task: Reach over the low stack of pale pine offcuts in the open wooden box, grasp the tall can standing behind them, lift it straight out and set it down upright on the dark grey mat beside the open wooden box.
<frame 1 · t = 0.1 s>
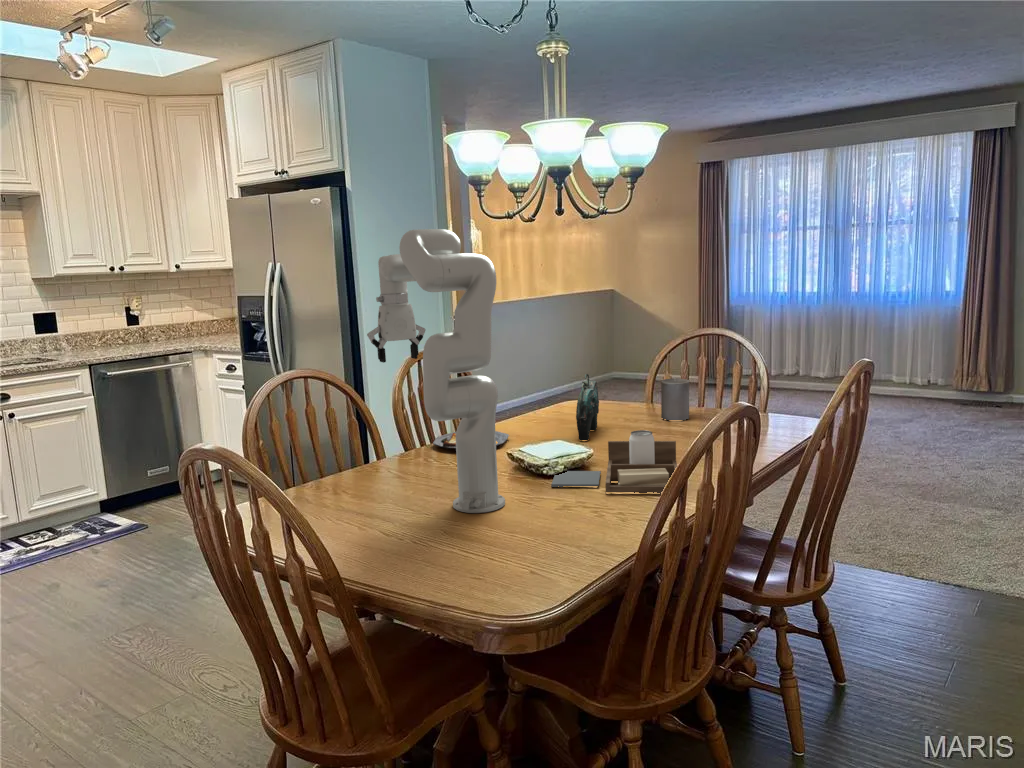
hand: (398, 360, 215), 31 cm above the table, tool pointing down, fingers open, 9 cm apart
pillar candle: (675, 419, 266), on the table
offcut lower: (642, 490, 189), on the table, touching offcut upper
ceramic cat: (589, 435, 248), on the table
offcut upper: (642, 481, 189), point 2 cm above the table, touching offcut lower
food plate: (471, 445, 243), on the table
open wooden box: (642, 481, 195), on the table
can: (642, 477, 199), on the table
mat: (576, 481, 198), on the table
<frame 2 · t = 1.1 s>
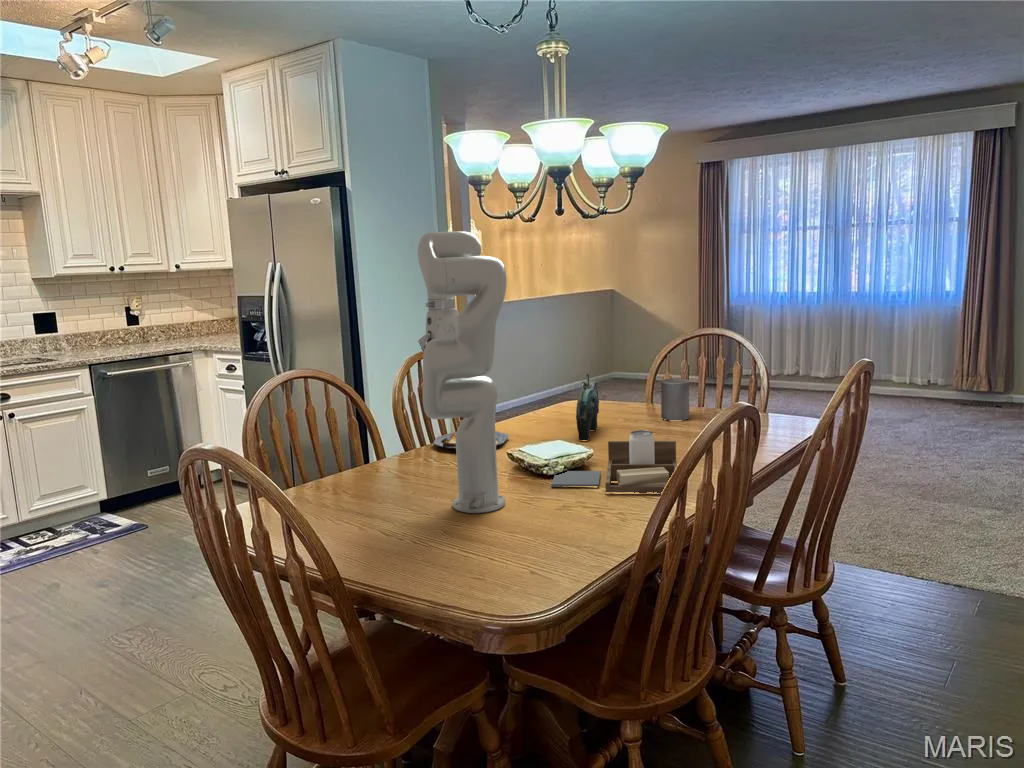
hand: (445, 366, 211), 29 cm above the table, tool pointing down, fingers open, 9 cm apart
nothing on the table moved.
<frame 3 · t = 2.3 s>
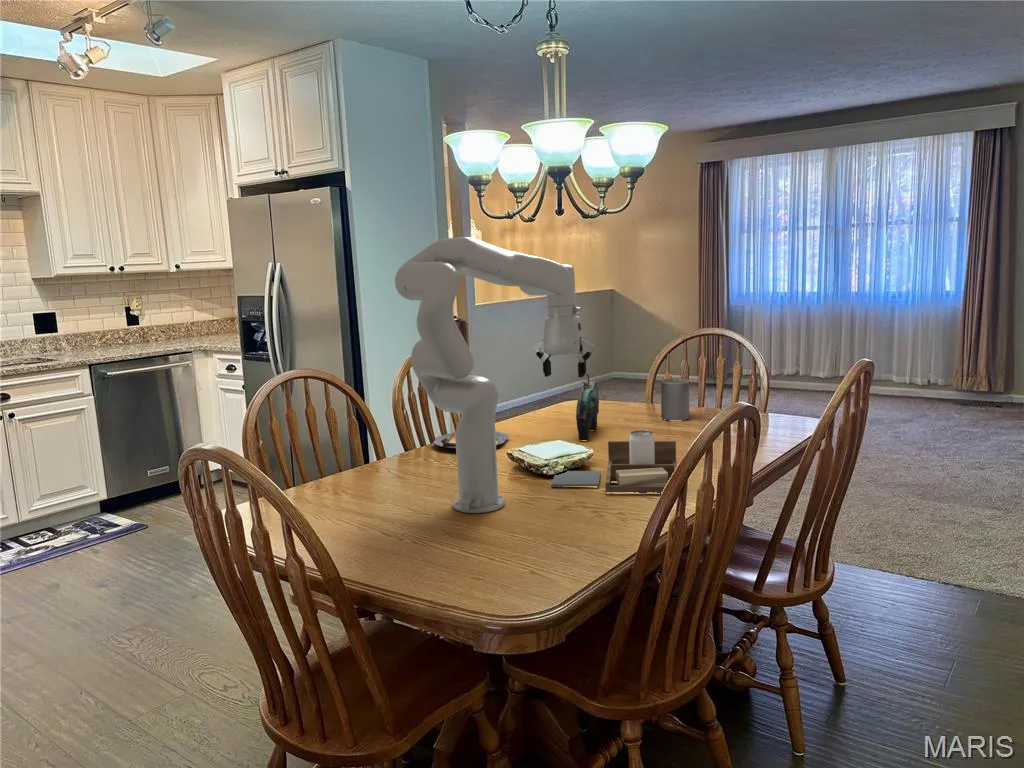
hand: (564, 376, 201), 27 cm above the table, tool pointing down, fingers open, 9 cm apart
nothing on the table moved.
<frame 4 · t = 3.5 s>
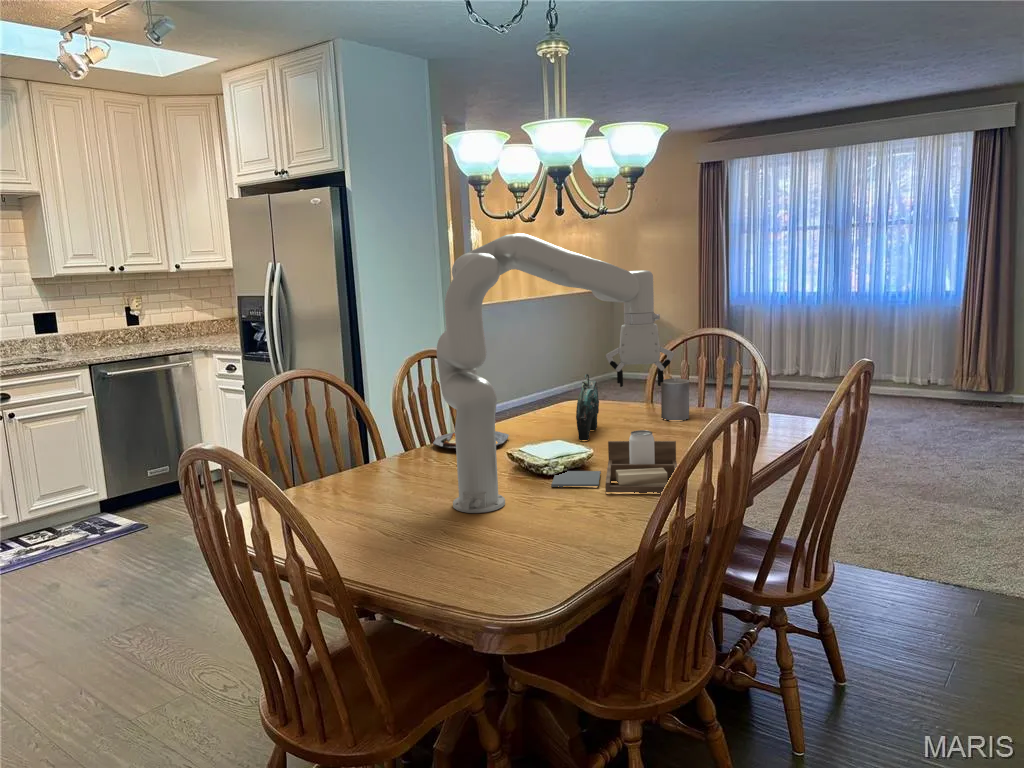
hand: (640, 385, 195), 24 cm above the table, tool pointing down, fingers open, 9 cm apart
nothing on the table moved.
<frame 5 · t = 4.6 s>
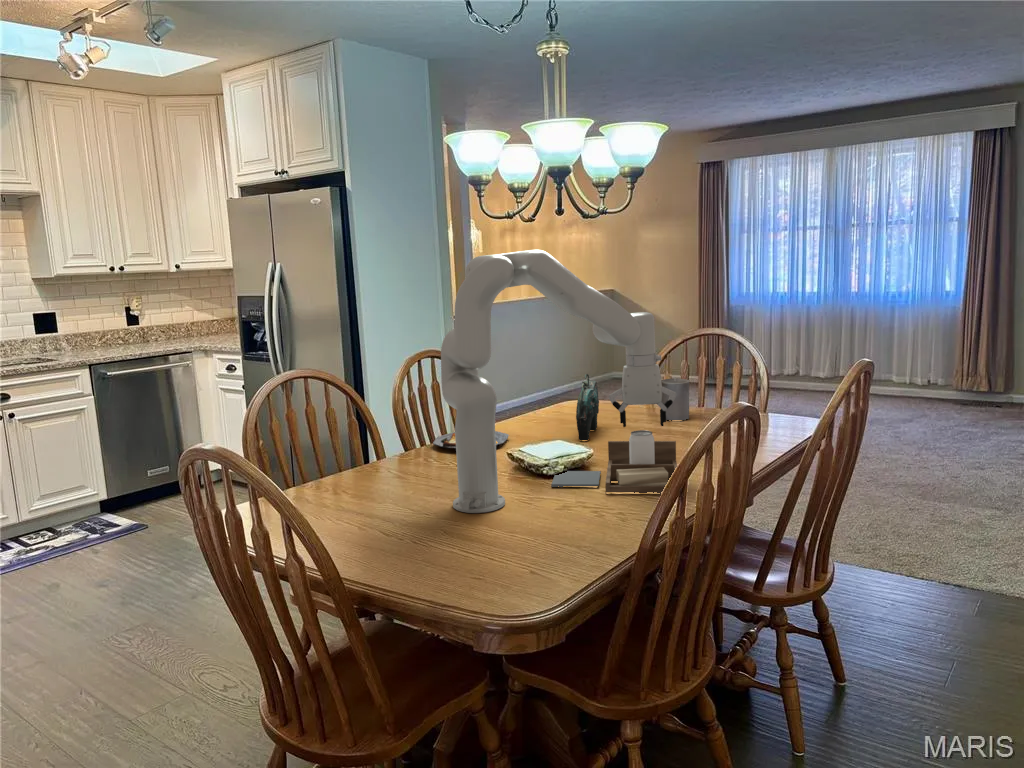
hand: (643, 425, 197), 14 cm above the table, tool pointing down, fingers open, 9 cm apart
offcut lower: (642, 490, 190), on the table
offcut upper: (642, 480, 189), point 2 cm above the table
everything else where it was.
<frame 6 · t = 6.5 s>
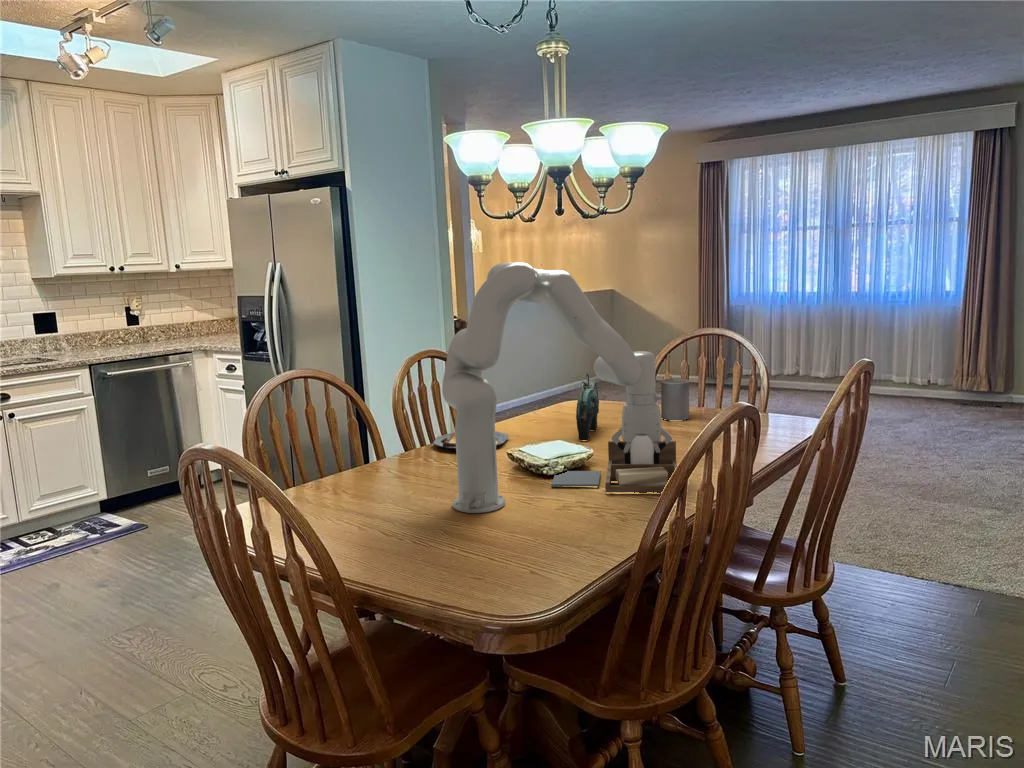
hand: (642, 465, 198), 3 cm above the table, tool pointing down, fingers closed on can, 6 cm apart
offcut lower: (642, 489, 190), on the table, touching offcut upper
offcut upper: (641, 480, 189), point 2 cm above the table, touching offcut lower
can: (642, 477, 199), on the table, touching gripper
everything else where it was.
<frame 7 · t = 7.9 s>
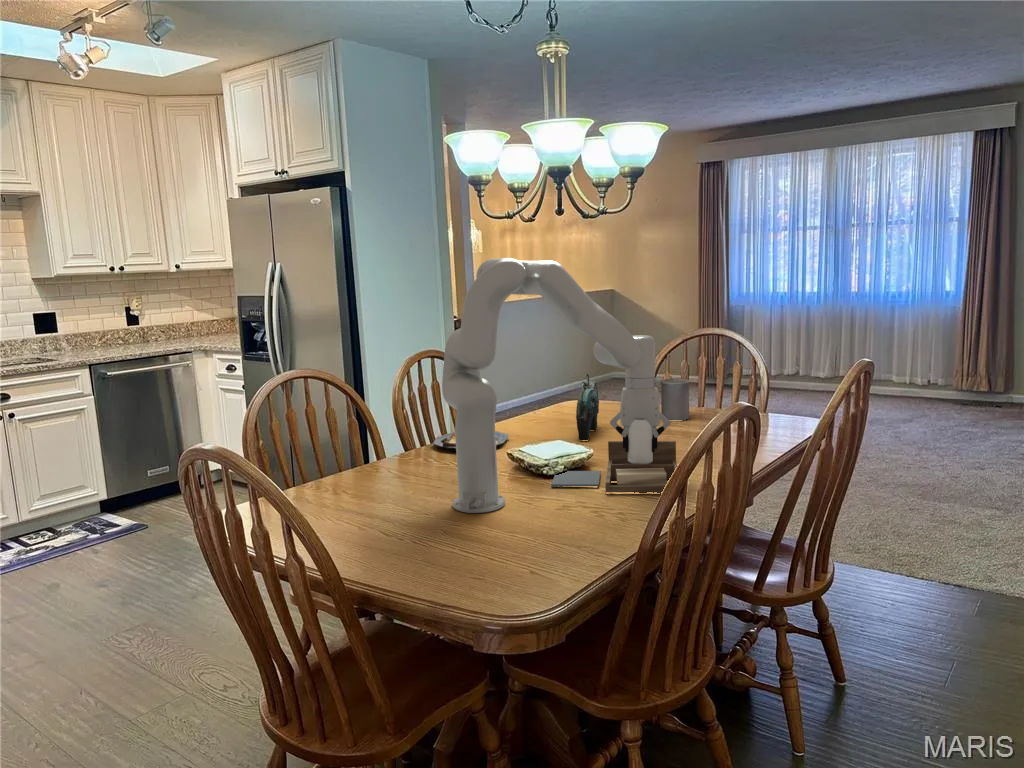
hand: (639, 450, 197), 7 cm above the table, tool pointing down, fingers closed on can, 6 cm apart
can: (640, 462, 198), point 4 cm above the table, touching gripper
when the fingers open (5 cm above the table, at t = 14.8 s): can drops 1 cm, resting on mat.
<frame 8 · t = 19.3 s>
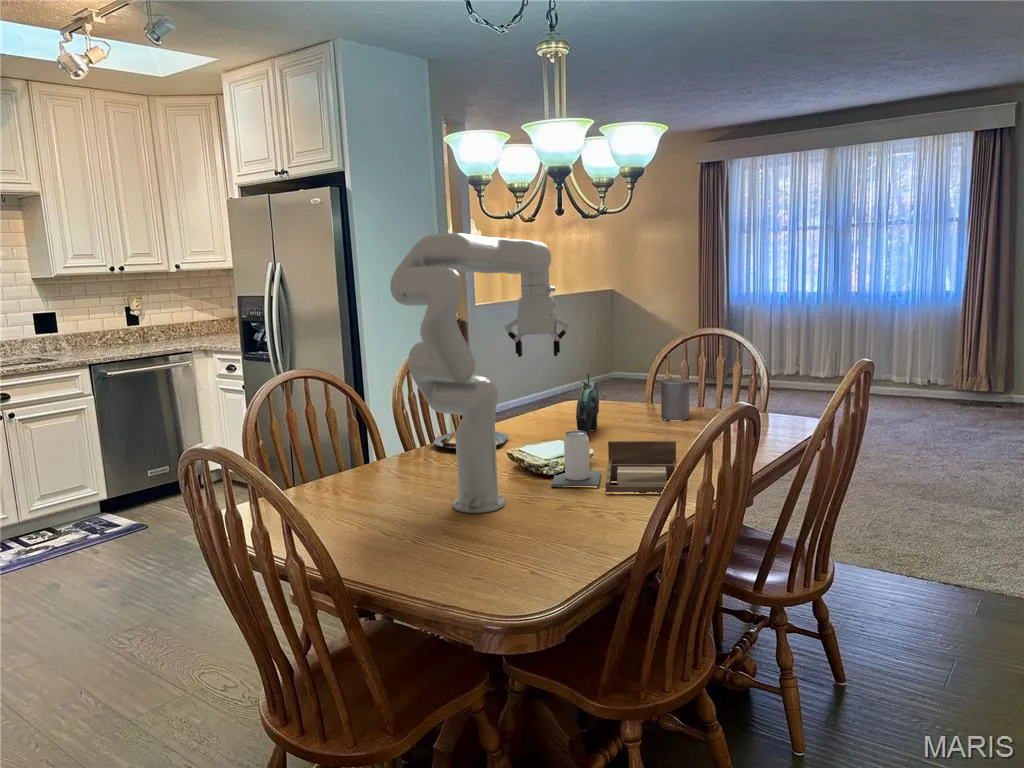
hand: (538, 355, 202), 32 cm above the table, tool pointing down, fingers open, 9 cm apart
can: (577, 478, 197), point 1 cm above the table, touching mat
at the end: can inside the target area on the mat (0.4 cm from its centre), point 0.8 cm above the mat's base; can tilted 0°; the gripper is holding nothing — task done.
